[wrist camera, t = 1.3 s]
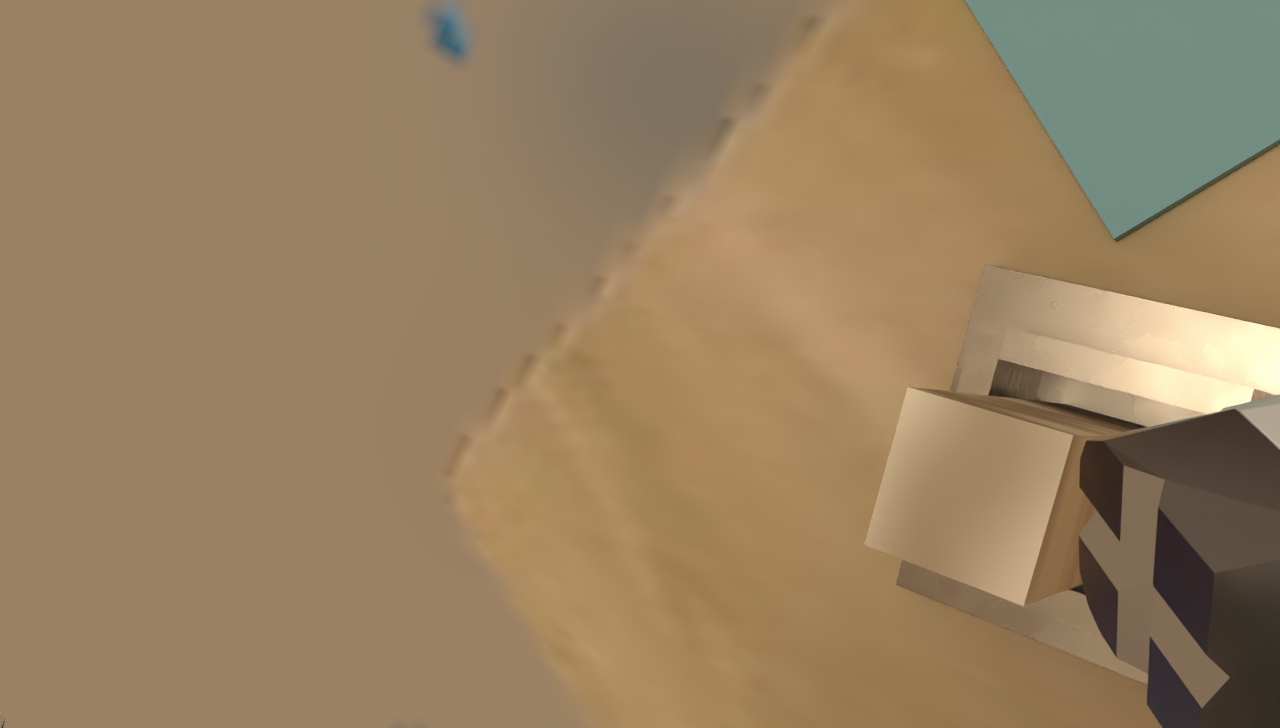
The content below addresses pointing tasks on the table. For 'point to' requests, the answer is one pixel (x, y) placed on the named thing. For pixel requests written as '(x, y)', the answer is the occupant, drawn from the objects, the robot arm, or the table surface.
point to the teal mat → (1144, 91)
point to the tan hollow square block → (1094, 401)
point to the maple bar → (989, 490)
